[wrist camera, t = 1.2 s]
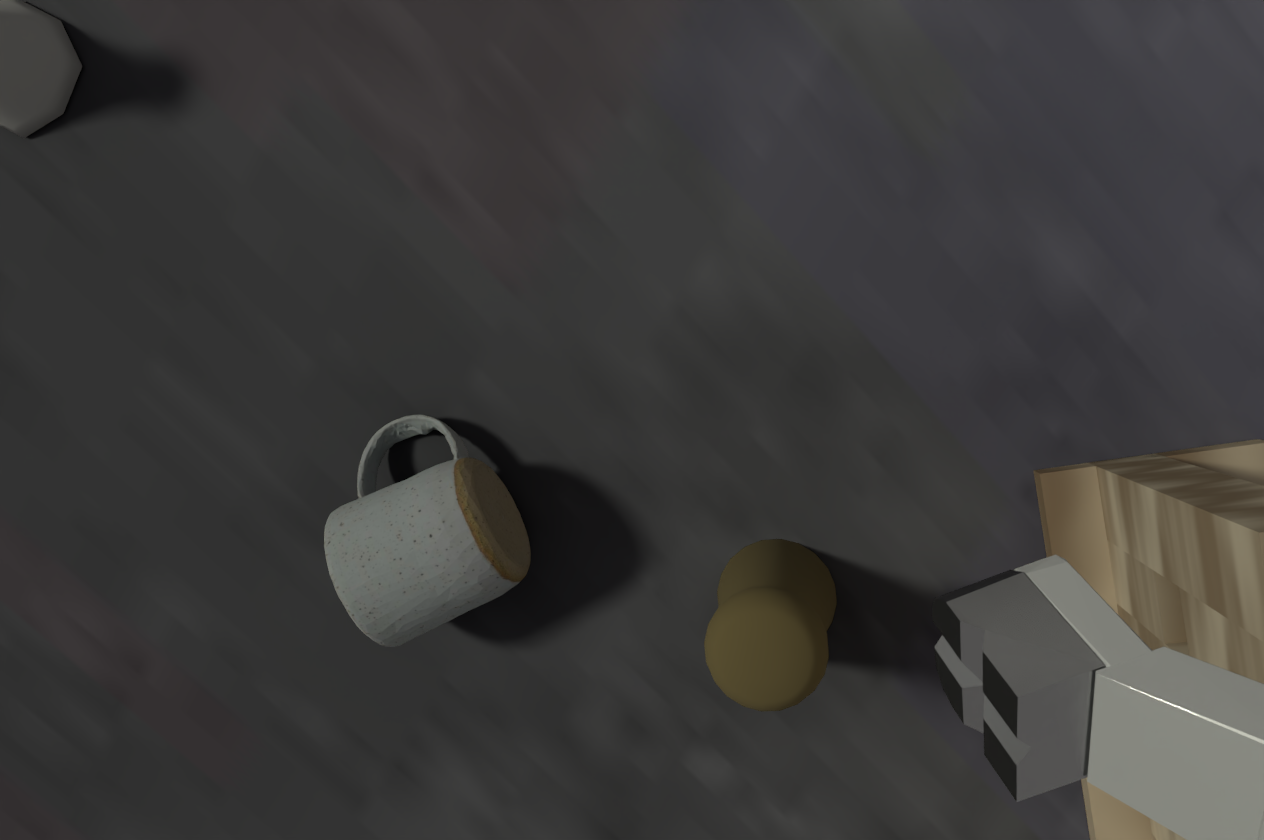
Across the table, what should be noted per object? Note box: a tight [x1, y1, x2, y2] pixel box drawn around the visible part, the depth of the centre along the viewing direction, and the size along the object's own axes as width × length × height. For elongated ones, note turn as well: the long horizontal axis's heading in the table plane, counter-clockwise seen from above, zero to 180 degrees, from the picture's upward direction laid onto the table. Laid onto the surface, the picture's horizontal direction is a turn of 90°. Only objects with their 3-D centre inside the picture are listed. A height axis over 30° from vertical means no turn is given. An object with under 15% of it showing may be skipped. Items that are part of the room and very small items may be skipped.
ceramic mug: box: [324, 415, 531, 647], centre depth 52 cm, size 11×8×8 cm
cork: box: [704, 539, 837, 711], centre depth 48 cm, size 6×6×11 cm
